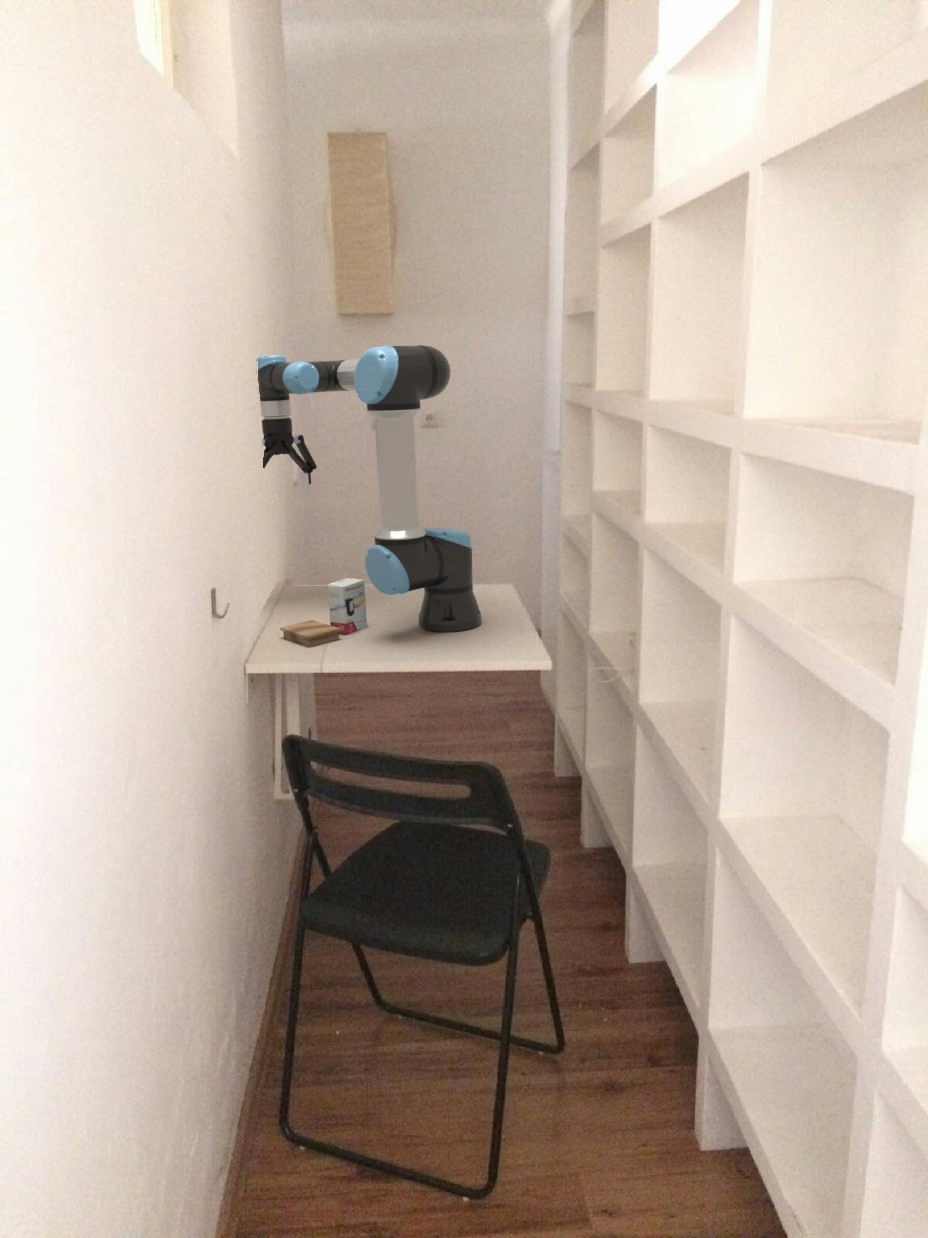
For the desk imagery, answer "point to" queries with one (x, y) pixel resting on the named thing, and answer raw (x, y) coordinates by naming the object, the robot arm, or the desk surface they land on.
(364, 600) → the ink box
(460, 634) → the desk surface
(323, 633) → the walnut stand
